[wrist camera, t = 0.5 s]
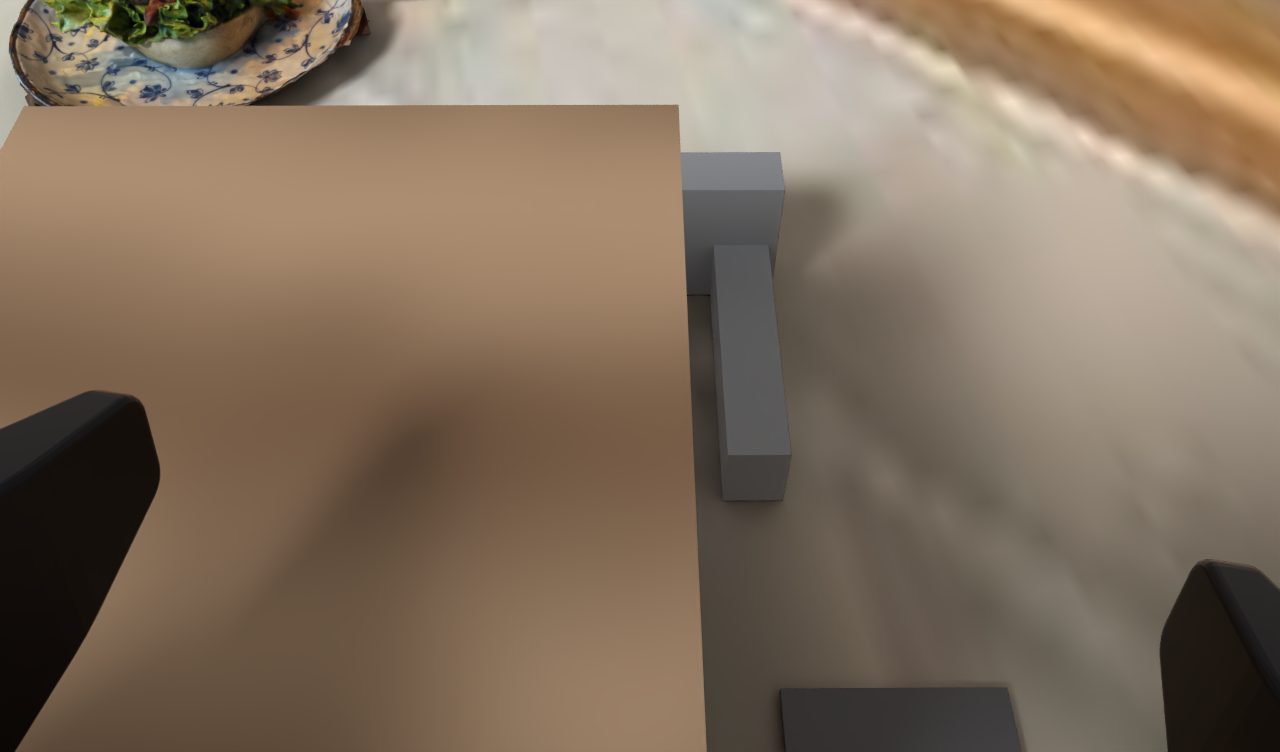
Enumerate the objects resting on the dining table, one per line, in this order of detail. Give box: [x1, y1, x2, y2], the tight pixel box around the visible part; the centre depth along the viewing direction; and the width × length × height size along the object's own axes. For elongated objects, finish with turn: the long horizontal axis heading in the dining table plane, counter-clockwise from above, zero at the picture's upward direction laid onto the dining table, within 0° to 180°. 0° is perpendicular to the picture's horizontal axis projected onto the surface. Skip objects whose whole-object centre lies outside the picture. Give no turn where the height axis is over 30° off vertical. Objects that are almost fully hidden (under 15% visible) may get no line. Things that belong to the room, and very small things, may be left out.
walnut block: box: [0, 105, 707, 752], centre depth 18 cm, size 12×10×13 cm
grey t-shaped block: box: [680, 152, 791, 501], centre depth 29 cm, size 8×16×4 cm, turn 90°
